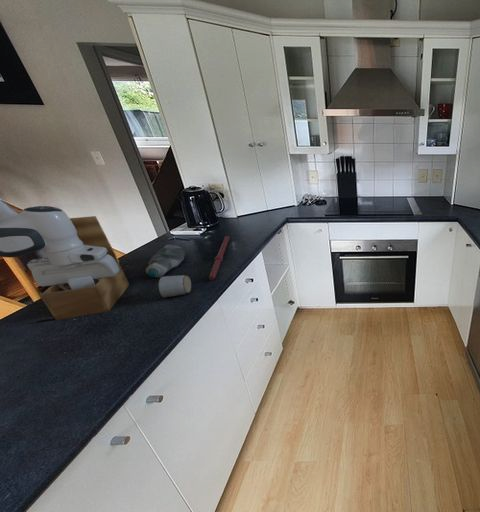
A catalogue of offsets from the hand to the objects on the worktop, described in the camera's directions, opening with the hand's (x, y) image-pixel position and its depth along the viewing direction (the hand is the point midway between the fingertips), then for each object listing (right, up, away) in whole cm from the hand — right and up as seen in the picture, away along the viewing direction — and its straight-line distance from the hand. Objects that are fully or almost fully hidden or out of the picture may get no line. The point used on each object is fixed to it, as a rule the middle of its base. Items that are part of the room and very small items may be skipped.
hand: (88, 290), depth 95 cm
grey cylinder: (+25, -2, +9) cm, 27 cm away
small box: (0, -4, +2) cm, 4 cm away
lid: (-3, +17, +1) cm, 17 cm away
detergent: (+7, +7, +25) cm, 27 cm away
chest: (0, -4, +3) cm, 5 cm away
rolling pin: (+26, +11, +35) cm, 45 cm away
